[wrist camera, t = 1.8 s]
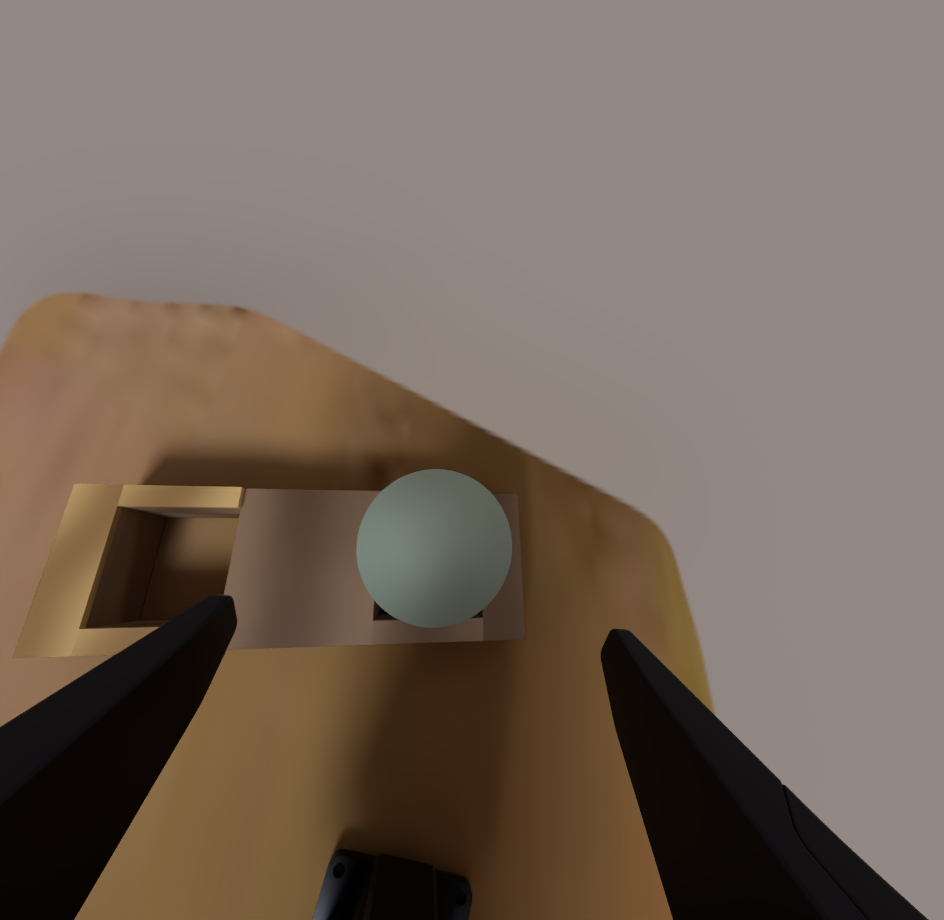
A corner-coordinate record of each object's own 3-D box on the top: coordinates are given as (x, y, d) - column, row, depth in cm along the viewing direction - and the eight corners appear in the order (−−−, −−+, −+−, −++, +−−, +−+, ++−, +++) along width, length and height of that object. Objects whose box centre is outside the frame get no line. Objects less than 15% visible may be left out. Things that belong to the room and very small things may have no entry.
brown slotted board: (505, 504, 22) (519, 492, 19) (511, 630, 20) (527, 640, 17) (130, 498, 20) (74, 483, 16) (86, 644, 17) (12, 658, 14)
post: (451, 605, 20) (493, 646, 8) (389, 588, 20) (332, 604, 8) (466, 541, 21) (525, 490, 9) (408, 526, 21) (386, 452, 9)
